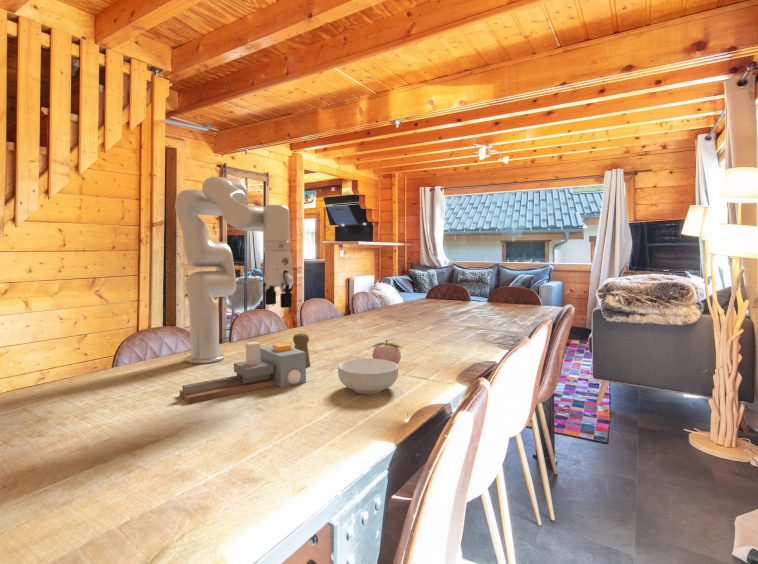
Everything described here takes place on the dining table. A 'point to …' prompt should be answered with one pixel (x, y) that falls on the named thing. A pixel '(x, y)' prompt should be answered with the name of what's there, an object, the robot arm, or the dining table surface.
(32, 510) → the dining table surface
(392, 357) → the decorative fruit
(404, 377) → the dining table surface
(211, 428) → the dining table surface
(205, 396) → the rail track
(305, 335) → the cork
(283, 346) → the button
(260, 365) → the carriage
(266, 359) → the grey button housing
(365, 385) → the cereal bowl
